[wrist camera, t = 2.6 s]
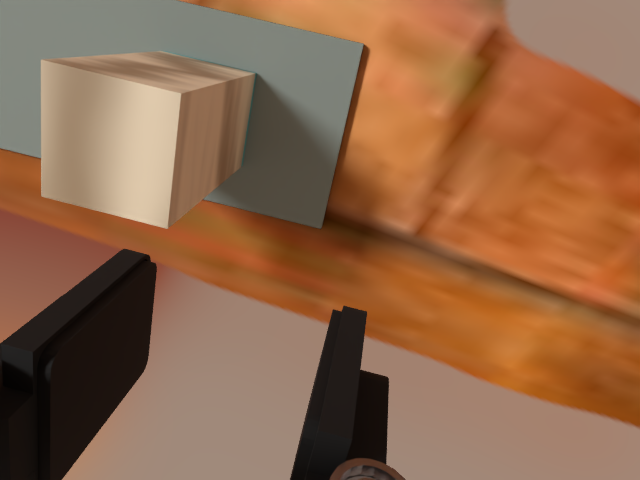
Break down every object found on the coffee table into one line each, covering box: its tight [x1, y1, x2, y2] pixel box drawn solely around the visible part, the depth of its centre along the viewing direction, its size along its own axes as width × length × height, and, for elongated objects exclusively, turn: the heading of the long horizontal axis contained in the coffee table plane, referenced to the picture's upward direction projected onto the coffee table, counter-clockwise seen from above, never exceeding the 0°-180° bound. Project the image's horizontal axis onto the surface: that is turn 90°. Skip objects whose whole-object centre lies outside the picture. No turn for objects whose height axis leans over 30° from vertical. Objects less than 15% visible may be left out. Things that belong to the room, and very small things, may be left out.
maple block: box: [41, 51, 257, 229], centre depth 28 cm, size 6×6×12 cm
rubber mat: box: [0, 0, 364, 229], centre depth 34 cm, size 26×12×1 cm, turn 78°
